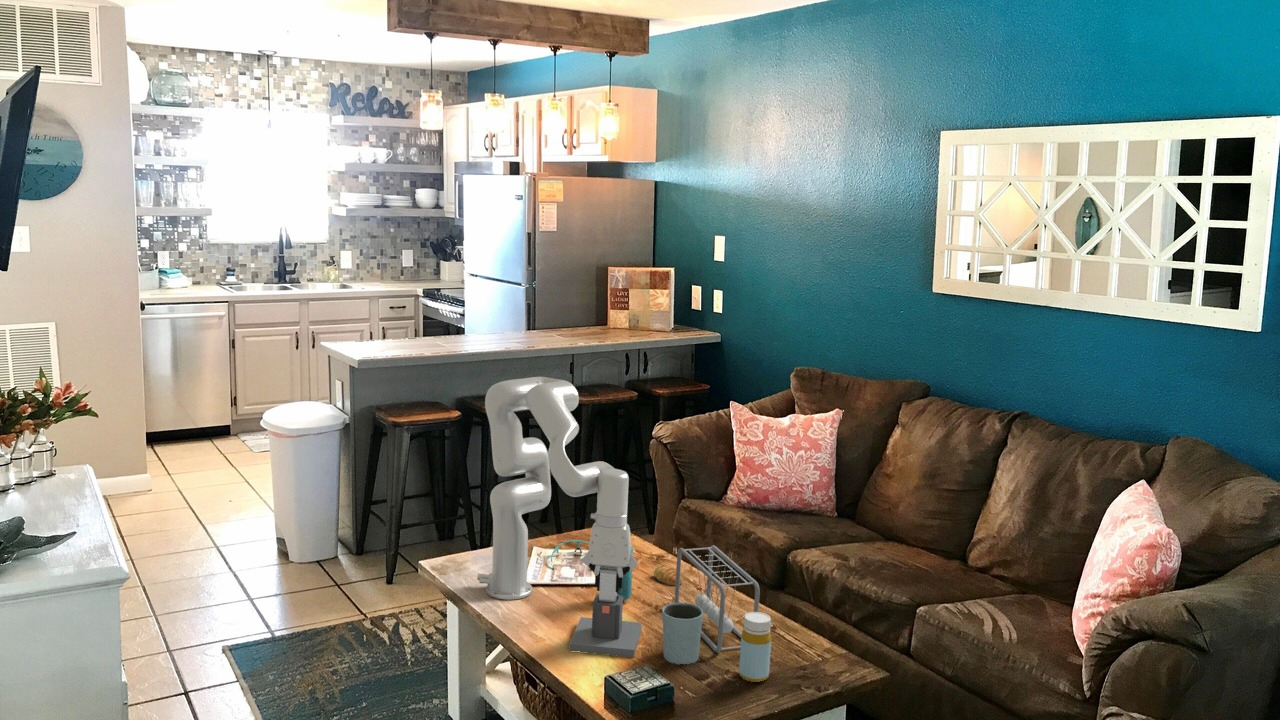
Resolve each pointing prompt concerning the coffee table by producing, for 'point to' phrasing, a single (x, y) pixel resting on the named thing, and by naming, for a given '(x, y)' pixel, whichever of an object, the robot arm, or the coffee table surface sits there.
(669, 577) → the pastry
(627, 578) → the beverage bottle
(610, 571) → the stand column
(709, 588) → the newton's cradle
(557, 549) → the teal thin curved band
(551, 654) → the coffee table surface
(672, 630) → the grey cup
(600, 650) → the stand base
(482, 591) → the coffee table surface
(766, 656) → the bottle
